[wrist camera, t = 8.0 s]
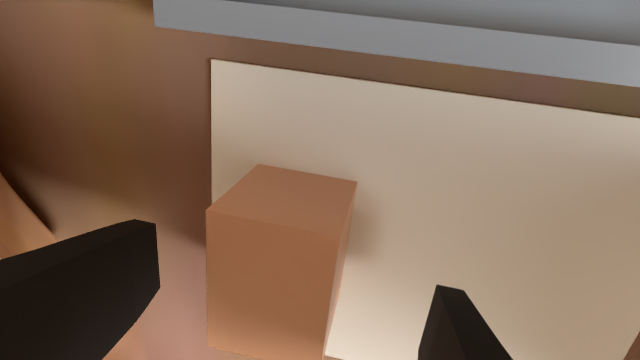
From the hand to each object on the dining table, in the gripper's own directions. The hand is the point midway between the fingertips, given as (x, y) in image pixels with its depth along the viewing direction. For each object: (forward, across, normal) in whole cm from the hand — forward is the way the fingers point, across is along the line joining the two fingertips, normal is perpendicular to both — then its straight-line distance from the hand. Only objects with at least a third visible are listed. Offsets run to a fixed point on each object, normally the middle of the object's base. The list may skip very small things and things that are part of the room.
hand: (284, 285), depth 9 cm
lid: (+3, -3, 0) cm, 5 cm away
